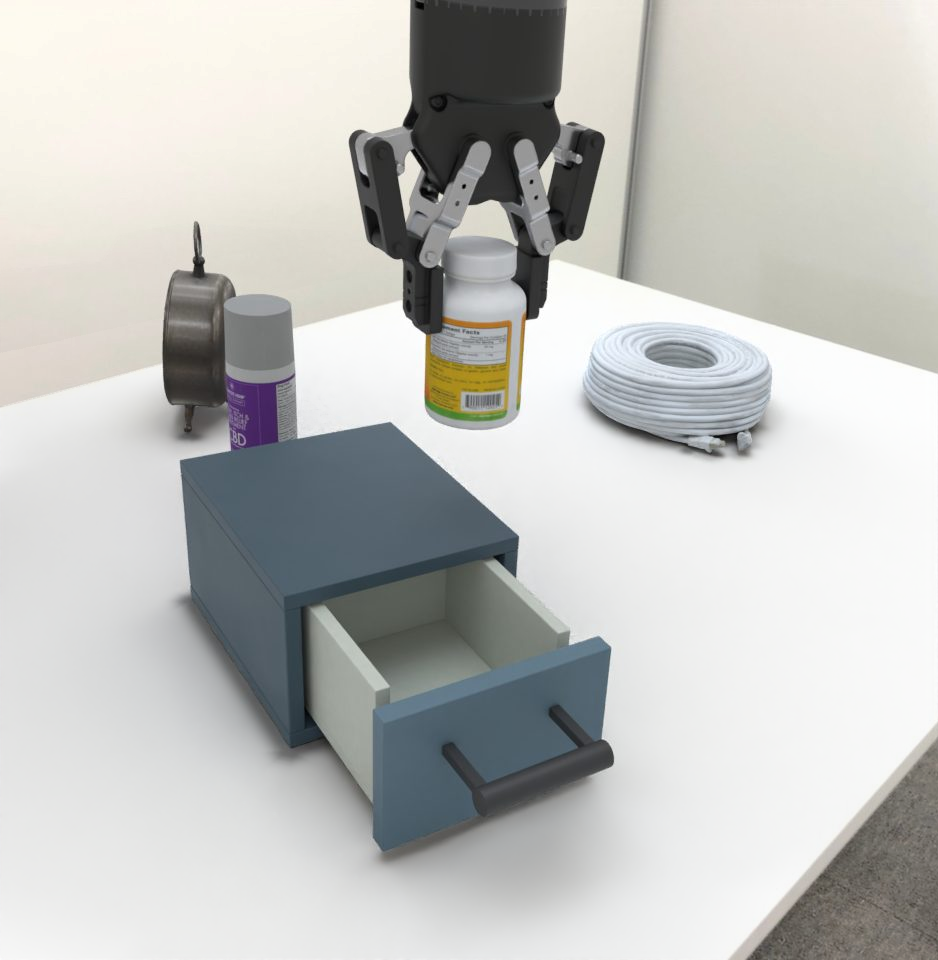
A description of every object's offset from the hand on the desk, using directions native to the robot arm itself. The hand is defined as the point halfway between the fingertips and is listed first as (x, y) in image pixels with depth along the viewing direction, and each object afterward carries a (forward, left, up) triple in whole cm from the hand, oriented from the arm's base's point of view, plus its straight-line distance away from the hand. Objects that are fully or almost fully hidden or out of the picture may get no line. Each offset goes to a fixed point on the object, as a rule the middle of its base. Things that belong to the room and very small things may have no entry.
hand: (475, 321), depth 65 cm
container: (-4, +23, -22) cm, 32 cm away
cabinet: (-6, +4, -21) cm, 23 cm away
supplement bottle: (0, 0, -6) cm, 6 cm away
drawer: (-6, -9, -20) cm, 23 cm away
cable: (+35, +24, -22) cm, 48 cm away
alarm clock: (-3, +39, -22) cm, 45 cm away
